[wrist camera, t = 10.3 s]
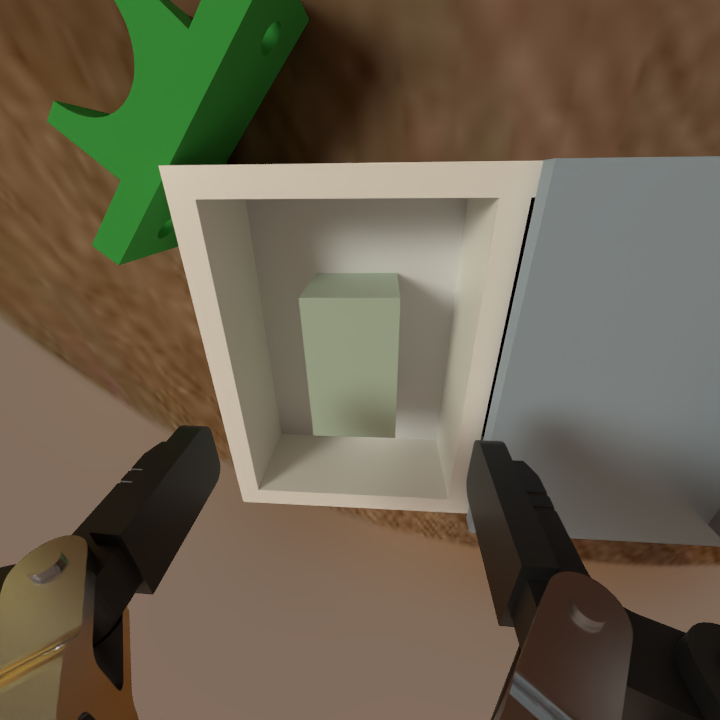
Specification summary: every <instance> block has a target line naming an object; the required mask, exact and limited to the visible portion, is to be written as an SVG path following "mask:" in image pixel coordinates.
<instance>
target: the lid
mask: <svg viewBox="0 0 720 720" xmlns="http://www.w3.org/2000/svg"><path fill="white" fill-rule="evenodd" d="M483 440H487V441H503V442H504V443H505V445H506V447H507V449H508V451H509V453H510V456H511V458H512V460H516V461H524V462H525V463H526V464H527V465H528V466H529V467H530V468H531V469H532V470H533V471H534V472H535V473H536V474H537V475H538V476H539V478H540V480H541V482H542V484H543V486H544V488H545V490H546V492H547V496H549V497H550V499H551V501H552V503H553V505H554V510H555V511H557V513H558V515H559V517H560V519H561V521H562V523H563V525H564V527H565V529H566V531H567V533H568V535H569V537H570V538H577V539H595V540H613V541H631V542H649V543H667V544H685V545H703V546H720V156H709V157H631V158H556V159H548V160H544V161H543V165H542V170H541V174H540V179H539V184H538V188H537V193H536V198H535V202H534V207H533V212H532V216H531V221H530V225H529V230H528V235H527V239H526V244H525V249H524V253H523V258H522V262H521V267H520V272H519V276H518V281H517V286H516V290H515V295H514V300H513V304H512V309H511V313H510V318H509V323H508V327H507V332H506V337H505V341H504V346H503V350H502V355H501V360H500V364H499V369H498V374H497V378H496V383H495V388H494V392H493V397H492V401H491V406H490V411H489V415H488V420H487V425H486V429H485V434H484V438H483ZM466 519H467V523H468V528H469V532H470V533H476V530H475V526H474V522H473V518H472V514H471V510H470V506H469V508H468V513H467V517H466Z"/></svg>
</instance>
